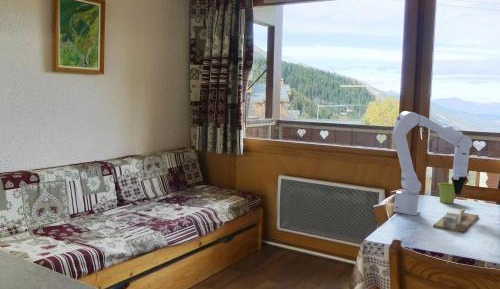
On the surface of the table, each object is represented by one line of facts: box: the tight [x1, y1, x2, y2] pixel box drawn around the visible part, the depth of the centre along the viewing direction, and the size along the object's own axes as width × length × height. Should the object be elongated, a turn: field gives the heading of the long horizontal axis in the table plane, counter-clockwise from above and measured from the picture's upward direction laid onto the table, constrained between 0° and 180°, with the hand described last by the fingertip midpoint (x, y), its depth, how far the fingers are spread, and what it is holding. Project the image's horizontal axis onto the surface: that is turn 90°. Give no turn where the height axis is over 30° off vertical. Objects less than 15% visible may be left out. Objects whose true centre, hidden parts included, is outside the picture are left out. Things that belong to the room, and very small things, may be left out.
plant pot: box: [437, 182, 457, 205], centre depth 225 cm, size 9×9×9 cm
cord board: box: [432, 208, 479, 234], centre depth 190 cm, size 11×30×5 cm, turn 144°
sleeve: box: [446, 209, 461, 225], centre depth 185 cm, size 4×5×4 cm
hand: (457, 193), depth 201 cm, fingers closed
